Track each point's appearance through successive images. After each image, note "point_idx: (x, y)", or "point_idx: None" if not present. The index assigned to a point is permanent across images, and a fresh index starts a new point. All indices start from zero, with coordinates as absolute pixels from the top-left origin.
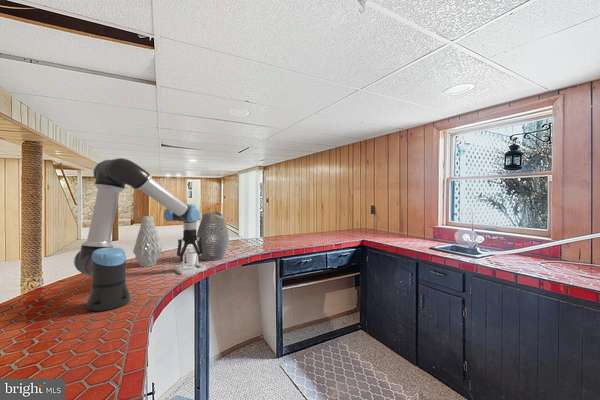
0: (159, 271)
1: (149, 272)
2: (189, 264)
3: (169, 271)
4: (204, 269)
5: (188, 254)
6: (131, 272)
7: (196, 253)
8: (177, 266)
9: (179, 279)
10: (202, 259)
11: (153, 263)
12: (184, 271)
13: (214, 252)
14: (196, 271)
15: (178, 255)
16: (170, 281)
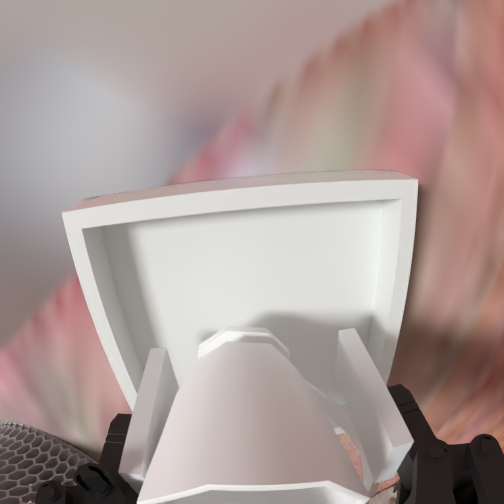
0: (437, 398)
1: (473, 394)
2: (278, 351)
3: (401, 378)
4: (100, 200)
5: (340, 483)
6: (499, 413)
7: (147, 494)
8: None
9: (437, 50)
10: None
11: (389, 496)
12: (384, 178)
13: (5, 478)
14: (211, 182)
15: (491, 440)
16: (495, 60)
